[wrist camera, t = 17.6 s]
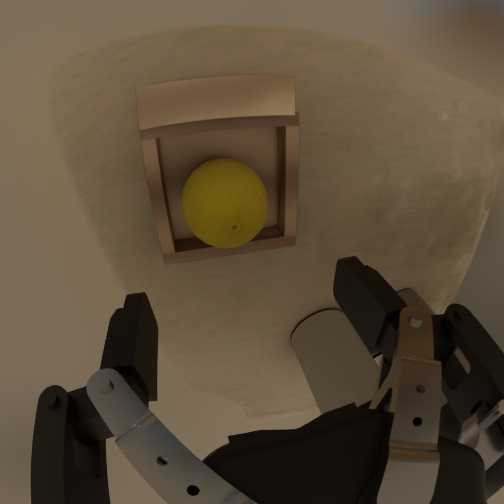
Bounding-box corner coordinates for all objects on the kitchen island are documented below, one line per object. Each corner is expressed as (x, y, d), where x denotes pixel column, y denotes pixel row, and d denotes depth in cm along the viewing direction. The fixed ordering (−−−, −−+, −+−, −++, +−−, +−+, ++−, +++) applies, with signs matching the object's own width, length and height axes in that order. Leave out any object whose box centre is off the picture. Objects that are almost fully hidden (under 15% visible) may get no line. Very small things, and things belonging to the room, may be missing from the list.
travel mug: (312, 302, 31) (386, 440, 16) (356, 312, 34) (426, 422, 19) (279, 347, 34) (328, 473, 19) (323, 351, 37) (375, 456, 22)
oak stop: (270, 110, 19) (294, 115, 15) (150, 122, 17) (139, 129, 13) (270, 80, 17) (294, 76, 13) (147, 91, 16) (135, 88, 12)
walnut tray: (284, 229, 26) (295, 245, 23) (166, 246, 24) (165, 264, 21) (285, 110, 20) (298, 113, 17) (146, 123, 18) (139, 127, 16)
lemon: (251, 212, 23) (280, 265, 16) (185, 217, 22) (186, 275, 15) (252, 147, 20) (287, 175, 13) (180, 151, 19) (176, 181, 12)
